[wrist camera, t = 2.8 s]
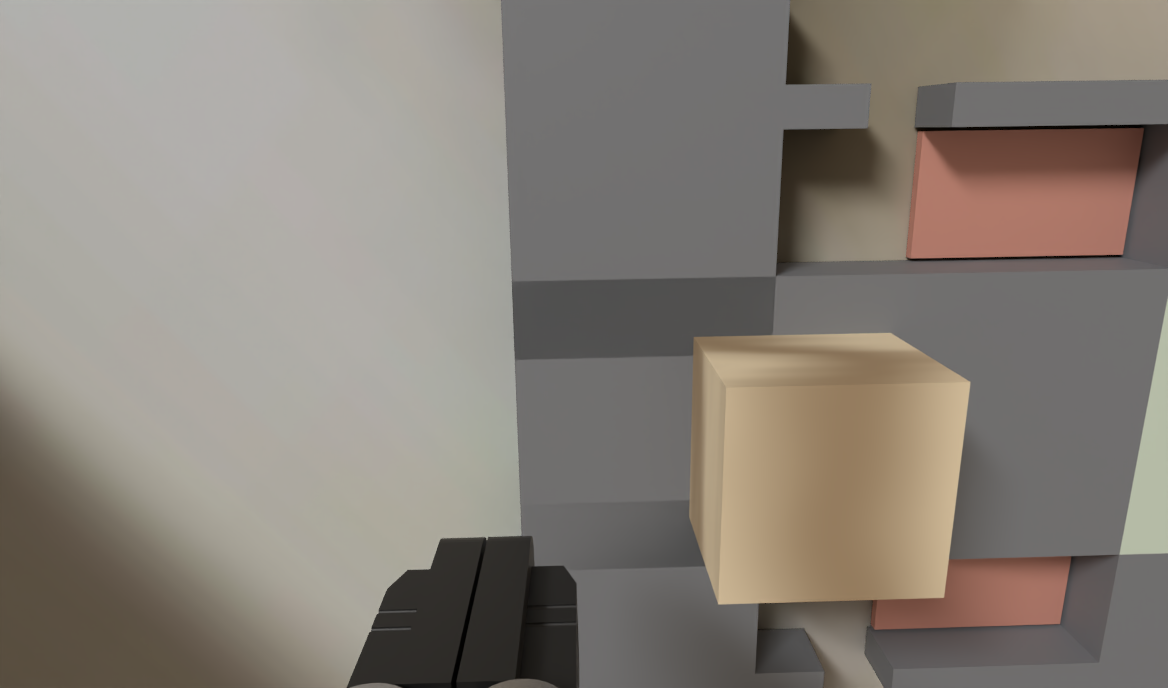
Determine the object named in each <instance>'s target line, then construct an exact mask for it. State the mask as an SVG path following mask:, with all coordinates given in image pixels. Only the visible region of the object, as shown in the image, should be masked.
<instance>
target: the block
mask: <svg viewBox="0 0 1168 688" xmlns="http://www.w3.org/2000/svg"><path fill="white" fill-rule="evenodd" d="M970 383H971V382H970V381H968V380H966V379H965V378H963V377H961V376H960V375H958V374H957V373H955V372H953V371H952V370H950V369H948V368H947V367H945V366H944V365H942V364H940V363H939V362H937V361H936V360H934V359H932V358H931V357H929V356H927V355H926V354H924V353H923V352H921V351H919V350H918V349H916V348H914V347H913V346H911V345H910V344H908V343H906V342H905V341H903V340H901V339H900V338H898V337H897V336H895V335H893V334H892V333H859V334H810V335H762V336H714V337H694V342H693V383H692V424H691V465H690V506H689V518H690V521H691V524H692V527H693V530H694V533H695V536H696V539H697V542H698V545H699V548H700V551H701V554H702V557H703V560H704V563H705V566H706V569H707V572H708V575H709V578H710V581H711V584H712V587H713V590H714V593H715V596H716V599H717V602H718V604H751V603H785V602H819V601H853V600H887V599H921V598H944V594H945V586H946V578H947V569H948V561H949V553H950V545H951V537H952V529H953V521H954V513H955V505H956V497H957V488H958V480H959V472H960V464H961V456H962V448H963V440H964V432H965V424H966V416H967V407H968V399H969V391H970Z"/></svg>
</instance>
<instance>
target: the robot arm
mask: <svg viewBox="0 0 1168 688" xmlns="http://www.w3.org/2000/svg"><path fill="white" fill-rule="evenodd" d="M347 688H579V640H578V611H577V583H576V582H575V580H574V579H573V578H572V576H571V575H570V573H569V572H568V571H567V569H566V568H565V567H564V565H563V566H535V563H534V545H533V537H532V536H509V537H488V540H486V538H485V537H479V538H444V539H441V540H440V542H439V545H438V548H437V551H436V554H435V557H434V560H433V563H432V566H431V569H429V570H407V571H406V572H405V573H404V574H403V575H402V576H401V577H400V578H399V579H398V580H397V581H395V582H394V583H393V584H392V585H391V586H390V587H389V588H388V589H387V591H386V594H385V596H384V598H383V601H382V603H381V606H380V608H379V614H377V615H376V618H375V620H374V623H373V625H372V630H371V632H369V635H368V637H367V640H366V642H365V645H364V647H363V649H362V652H361V654H360V657H359V659H358V662H357V664H356V666H355V669H354V671H353V674H352V676H351V679H350V681H349V683H348V686H347Z"/></svg>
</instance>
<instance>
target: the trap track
mask: <svg viewBox="0 0 1168 688" xmlns="http://www.w3.org/2000/svg"><path fill="white" fill-rule="evenodd" d="M501 11H502V37H503V63H504V89H505V115H506V141H507V167H508V193H509V219H510V245H511V271H512V297H513V323H514V349H515V375H516V401H517V426H518V452H519V478H520V504H521V530H522V536H532V537H533V545H534V563H535V566H563V565H564V567H565V568H566V569H567V571H568V572H569V573H570V575H571V576H572V578H573V579H574V580H575V582H576V583H577V611H578V640H579V688H823V684H824V669H823V667H822V665H821V663H820V661H819V659H818V657H817V655H816V653H815V651H814V649H813V647H812V645H811V643H810V641H809V639H808V637H807V635H806V633H805V631H804V629H773V630H757V627H758V608H759V603H751V604H718V602H717V599H716V596H715V593H714V590H713V587H712V584H711V581H710V578H709V575H708V572H707V569H706V566H705V563H704V560H703V557H702V554H701V551H700V548H699V545H698V542H697V539H696V536H695V533H694V530H693V527H692V524H691V521H690V518H689V506H690V465H691V424H692V383H693V342H694V337H714V336H762V335H810V334H859V333H892V334H893V335H895V336H897V337H898V338H900V339H901V340H903V341H905V342H906V343H908V344H910V345H911V346H913V347H914V348H916V349H918V350H919V351H921V352H923V353H924V354H926V355H927V356H929V357H931V358H932V359H934V360H936V361H937V362H939V363H940V364H942V365H944V366H945V367H947V368H948V369H950V370H952V371H953V372H955V373H957V374H958V375H960V376H961V377H963V378H965V379H966V380H968V381H970V382H971V383H970V391H969V399H968V407H967V416H966V424H965V432H964V440H963V448H962V456H961V464H960V472H959V480H958V488H957V497H956V505H955V513H954V521H953V529H952V537H951V545H950V553H949V561H948V569H947V578H946V586H945V594H944V598H921V599H887V600H873V605H872V615H871V625H872V627H867V634H866V645H865V656H866V657H867V659H868V661H869V663H870V664H871V666H872V668H873V670H874V671H875V673H876V675H877V676H878V678H879V680H880V682H881V683H882V685H883V687H884V688H1168V80H1115V81H1036V82H957V83H948V84H939V85H931V86H922V87H918V97H917V107H916V118H915V127H992V126H1063V125H1134V124H1140V128H1106V129H1036V130H966V131H918V137H917V147H916V157H915V168H914V178H913V189H912V199H911V209H910V220H909V230H908V241H907V251H906V257H908V258H964V257H1018V256H1072V255H1118V256H1115V257H1061V258H1007V259H952V260H898V261H844V262H790V263H777V243H778V224H779V205H780V186H781V167H782V147H783V129H851V128H868V119H869V106H870V94H871V84H800V85H786V70H787V51H788V32H789V13H790V0H501Z"/></svg>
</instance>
